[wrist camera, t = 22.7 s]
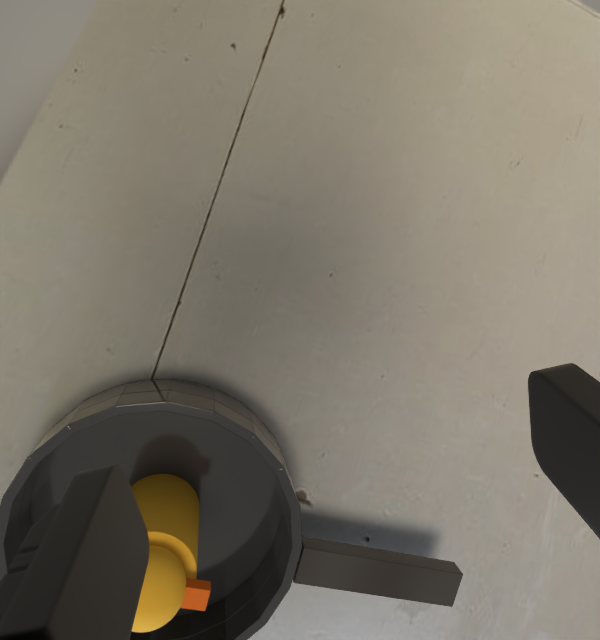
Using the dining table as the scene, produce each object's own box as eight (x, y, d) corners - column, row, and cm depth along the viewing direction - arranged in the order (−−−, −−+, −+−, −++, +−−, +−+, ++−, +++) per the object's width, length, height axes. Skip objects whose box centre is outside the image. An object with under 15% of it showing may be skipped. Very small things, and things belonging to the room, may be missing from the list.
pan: (-1, 601, 35) (-35, 660, 30) (56, 351, 33) (29, 372, 28) (253, 634, 39) (259, 692, 34) (318, 409, 37) (334, 436, 32)
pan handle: (290, 569, 35) (293, 583, 33) (300, 535, 34) (303, 547, 33) (443, 593, 37) (452, 607, 35) (454, 561, 36) (463, 574, 35)
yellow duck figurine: (113, 537, 35) (76, 654, 25) (131, 466, 35) (99, 558, 25) (199, 551, 36) (195, 668, 26) (218, 482, 36) (220, 577, 26)
